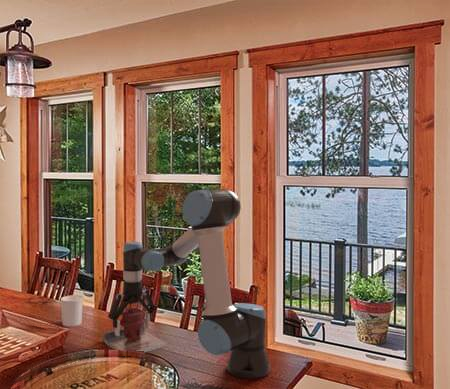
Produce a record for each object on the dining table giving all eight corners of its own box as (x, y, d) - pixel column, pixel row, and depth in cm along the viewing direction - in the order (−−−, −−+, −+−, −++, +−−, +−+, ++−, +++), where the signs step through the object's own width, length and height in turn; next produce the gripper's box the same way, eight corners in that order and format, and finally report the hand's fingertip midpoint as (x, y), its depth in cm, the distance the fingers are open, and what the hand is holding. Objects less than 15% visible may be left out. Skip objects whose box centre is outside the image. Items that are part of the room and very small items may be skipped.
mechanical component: (148, 336, 185) (139, 344, 175) (126, 334, 187) (115, 342, 177) (148, 306, 185) (139, 314, 175) (126, 305, 187) (115, 312, 177)
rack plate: (166, 346, 178) (166, 336, 178) (125, 357, 167) (125, 347, 166) (142, 332, 193) (142, 323, 193) (103, 341, 182) (103, 332, 182)
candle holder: (83, 325, 201) (83, 299, 201) (60, 328, 198) (60, 301, 197) (82, 319, 211) (82, 294, 210) (60, 321, 207) (60, 296, 207)
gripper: (154, 274, 191) (154, 323, 192) (99, 282, 175) (99, 335, 176) (164, 277, 185) (163, 327, 186) (107, 286, 169) (107, 341, 170)
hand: (132, 331), depth 181 cm, fingers open, 13 cm apart
